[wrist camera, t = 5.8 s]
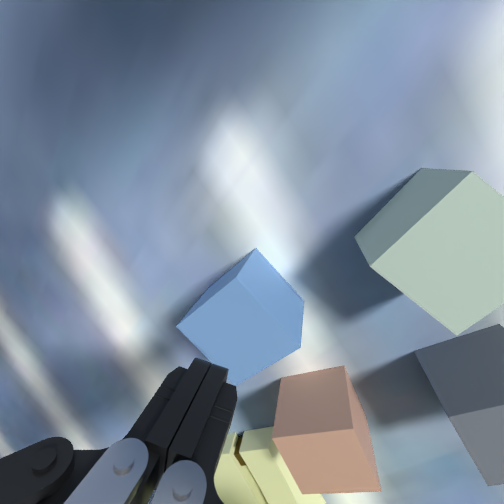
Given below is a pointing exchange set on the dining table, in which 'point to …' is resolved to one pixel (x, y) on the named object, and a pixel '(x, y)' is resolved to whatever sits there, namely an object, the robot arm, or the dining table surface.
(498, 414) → the charcoal block
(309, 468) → the terracotta block
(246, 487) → the slatted curved stool
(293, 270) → the dining table surface
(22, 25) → the dining table surface
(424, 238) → the sage block
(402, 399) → the dining table surface
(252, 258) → the blue block
